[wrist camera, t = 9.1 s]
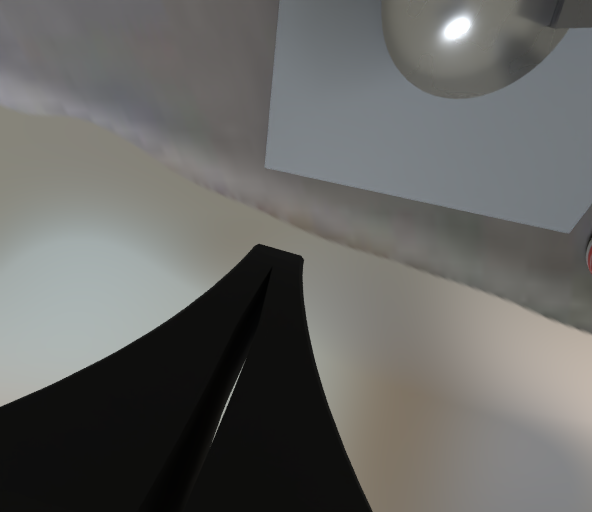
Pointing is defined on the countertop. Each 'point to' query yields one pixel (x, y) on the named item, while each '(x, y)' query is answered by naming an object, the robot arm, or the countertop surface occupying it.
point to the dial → (475, 40)
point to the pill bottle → (589, 256)
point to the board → (429, 122)
